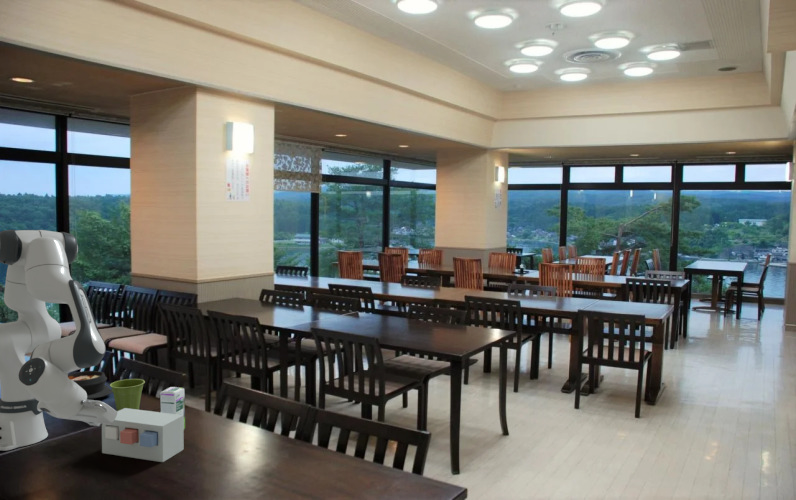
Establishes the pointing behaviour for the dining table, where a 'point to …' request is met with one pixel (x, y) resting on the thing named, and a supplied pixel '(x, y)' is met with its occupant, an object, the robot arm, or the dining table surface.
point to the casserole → (91, 383)
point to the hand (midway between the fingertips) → (96, 423)
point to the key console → (163, 423)
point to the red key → (129, 436)
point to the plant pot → (127, 393)
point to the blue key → (149, 439)
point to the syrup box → (173, 401)
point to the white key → (112, 432)
